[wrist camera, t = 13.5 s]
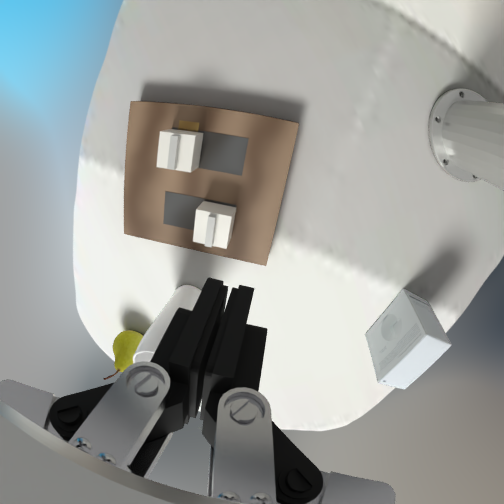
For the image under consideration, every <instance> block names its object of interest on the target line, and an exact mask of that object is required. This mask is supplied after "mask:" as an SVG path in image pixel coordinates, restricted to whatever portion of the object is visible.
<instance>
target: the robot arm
mask: <svg viewBox="0 0 504 504" xmlns="http://www.w3.org/2000/svg"><path fill="white" fill-rule="evenodd" d="M459 94H460V95H459ZM435 118H436V120H435ZM429 140H430V145H431V148H432V151H433V154H434V156H435V158H436V160H437V162H438V163H439V165H440V166H441V167H442V169H443V170H444V171H445V172H447V173H448V174H449V175H450V176H452V177H454V178H456V179H458V180H460V181H464V182H475V181H478V180H481V179H483V180H484V181H486V182H488V183H490V184H492V185H494V186H496V187H498V188H499V189H501V190H503V191H504V103H495V102H488V101H487V100H486V99H485V98H484V97H482V96H481V95H480V94H479V93H477V92H475V91H472V90H469V89H452V90H450V91H448V92H445V93H444V94H443V95H442V96H441V97H440V98H439V99H438V100H437V101H436V103H435V105H434V107H433V109H432V111H431V115H430V119H429ZM443 160H444V162H443ZM227 292H228V286H224V285H223V281H221V280H217V279H212V278H208V279H207V281H206V283H205V285H204V287H203V289H202V291H201V293H200V295H199V297H198V300H197V302H196V304H195V306H194V308H193V310H192V311H191V310H188V309H184V308H180V307H179V308H178V309H177V311H176V312H175V314H174V316H173V318H172V320H171V322H170V324H169V326H168V328H167V330H166V331H165V333H164V335H163V337H162V339H161V341H160V343H159V345H158V347H157V349H156V351H155V353H154V355H153V357H152V359H151V361H150V362H144V361H142V362H137V363H134V364H132V365H130V366H128V367H127V368H126V369H125V370H124V371H123V372H122V374H121V375H120V376H119V378H118V379H117V380H116V381H115V383H111V384H108V385H104V386H101V387H98V388H94V389H90V390H86V391H83V392H79V393H75V394H71V395H67V396H64V397H61V398H59V397H55V395H54V394H53V393H49V392H46V391H43V390H40V389H36V388H33V387H30V386H28V385H25V384H22V383H19V382H16V381H13V380H3V381H1V382H0V504H395V492H394V490H393V488H392V487H391V486H390V485H389V484H387V483H384V482H380V481H374V480H369V479H363V478H358V477H353V476H349V475H344V474H340V473H336V472H330V473H327V472H323V471H320V470H319V469H318V468H317V467H316V466H315V465H314V464H313V463H312V462H311V461H310V460H309V459H308V458H307V457H306V456H305V455H304V454H303V453H302V452H301V451H300V450H299V449H298V448H297V447H296V446H295V445H294V444H293V443H292V442H291V441H290V440H289V439H288V437H286V435H285V434H284V433H283V432H282V431H281V430H280V429H279V428H278V427H277V426H276V425H275V424H274V422H273V421H272V419H271V408H270V404H269V402H268V401H267V399H266V398H265V397H264V396H263V395H262V394H261V393H260V392H258V390H259V383H260V377H261V370H262V364H263V357H264V350H265V343H266V336H267V328H262V327H258V326H253V325H249V324H246V323H247V318H248V314H249V309H250V305H251V301H252V296H253V292H254V288H251V287H247V286H242V285H239V288H238V289H237V288H232V291H231V294H230V297H229V300H228V303H227V306H226V309H225V304H226V298H227ZM224 310H225V312H224ZM201 400H202V405H201V416H200V419H201V420H204V421H203V429H202V434H203V435H204V437H205V438H206V439H207V441H208V442H209V444H210V445H211V446H210V459H209V474H208V490H207V496H203V495H199V494H195V493H191V492H187V491H183V490H180V489H177V488H173V487H170V486H167V485H164V484H160V483H157V482H154V481H152V480H149V479H148V477H149V475H150V474H151V472H152V470H153V469H154V467H155V465H156V463H157V462H158V460H159V458H160V456H161V455H162V453H163V451H164V449H165V448H166V446H167V444H168V442H169V441H170V439H171V437H172V435H173V432H175V431H177V430H179V429H182V428H183V426H184V423H186V424H188V422H189V419H190V417H193V418H196V415H197V413H198V409H199V406H200V403H201Z"/></svg>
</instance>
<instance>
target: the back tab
mask: <svg viewBox="0 0 504 504" xmlns="http://www.w3.org/2000/svg"><path fill="white" fill-rule="evenodd" d="M235 213H236V207H231V206H227V205H222V204H217V203H212V202H207V201H203V202H202V203H201V204H200V206H199V207H198V208H197V209H196V215H195V225H194V234H193V242H197V243H202V244H205V245H204V246H207V247H212V246H216V247H220V248H225V249H227V246H228V244H229V242H230V240H231V236H232V230H233V224H234V219H235Z"/></svg>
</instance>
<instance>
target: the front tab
mask: <svg viewBox="0 0 504 504" xmlns="http://www.w3.org/2000/svg"><path fill="white" fill-rule="evenodd" d="M203 134H204V133H199V132H192V131H184V130H175V129H168V130H164V131H160V136H159V145H158V155H157V166H156V167H159V168H166V169H171V170H178V171H184V172H190V173H191V172H192V171H193V170H195V169H196V168H198V167H199V161H200V154H201V147H202V140H203Z"/></svg>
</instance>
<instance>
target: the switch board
mask: <svg viewBox="0 0 504 504" xmlns="http://www.w3.org/2000/svg"><path fill="white" fill-rule="evenodd" d="M298 126H299V123H297V122H293V121H288V120H284V119H279V118H274V117H269V116H264V115H259V114H253V113H247V112H241V111H235V110H228V109H221V108H214V107H206V106H197V105H188V104H177V103H165V102H148V101H131V104H130V112H129V122H128V132H127V144H126V159H125V180H124V234H127V235H132V236H136V237H140V238H145V239H149V240H153V241H157V242H162V243H166V244H171V245H175V246H179V247H184V248H188V249H193V250H197V251H201V252H206V253H210V254H215V255H219V256H224V257H228V258H233V259H237V260H242V261H246V262H251V263H255V264H260V265H264V266H266V264H267V260H268V256H269V252H270V248H271V243H272V239H273V235H274V231H275V227H276V222H277V218H278V214H279V210H280V205H281V201H282V197H283V193H284V188H285V184H286V179H287V175H288V171H289V166H290V162H291V158H292V153H293V149H294V144H295V140H296V135H297V131H298ZM168 129H175V130H184V131H192V132H199V133H204V134H203V140H202V147H201V154H200V161H199V167H198V168H196V169H195V170H193V171H192V172H191V173H190V172H184V171H178V170H171V169H166V168H159V167H156V166H157V155H158V145H159V136H160V131H164V130H168ZM203 201H207V202H212V203H217V204H222V205H227V206H231V207H236V213H235V219H234V224H233V230H232V236H231V240H230V242H229V244H228V246H227V249H225V248H220V247H216V246H212V247H207V246H204V245H205V244H202V243H197V242H193V234H194V225H195V215H196V209H197V208H198V207H199V206H200V204H201V203H202V202H203Z"/></svg>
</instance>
